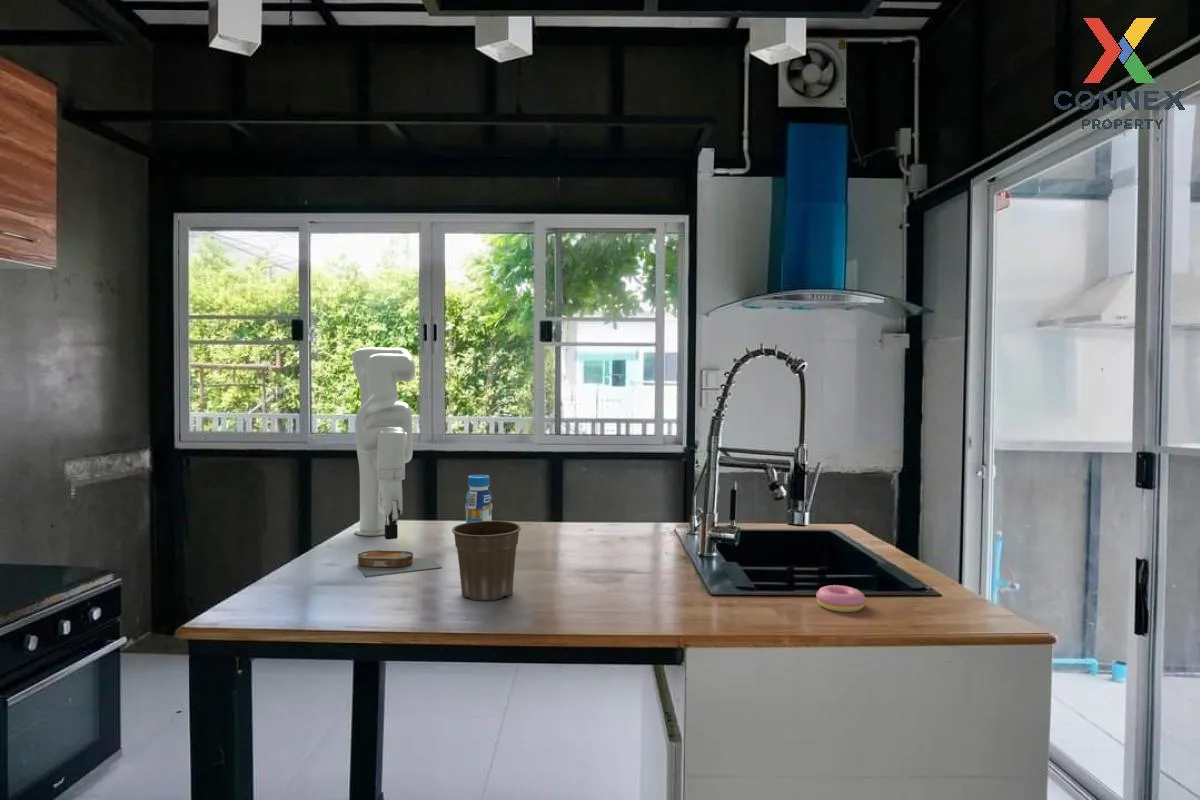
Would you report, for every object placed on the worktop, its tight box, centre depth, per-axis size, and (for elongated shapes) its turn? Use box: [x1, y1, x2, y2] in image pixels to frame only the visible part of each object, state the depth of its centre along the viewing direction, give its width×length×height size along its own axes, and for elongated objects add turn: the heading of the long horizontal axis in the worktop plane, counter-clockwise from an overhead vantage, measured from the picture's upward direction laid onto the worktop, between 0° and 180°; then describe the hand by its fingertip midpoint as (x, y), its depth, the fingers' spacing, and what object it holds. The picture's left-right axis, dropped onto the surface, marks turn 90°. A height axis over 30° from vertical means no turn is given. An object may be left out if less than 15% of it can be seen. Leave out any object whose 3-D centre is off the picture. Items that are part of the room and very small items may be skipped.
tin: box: [357, 549, 414, 568], centre depth 205 cm, size 15×3×8 cm
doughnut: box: [815, 584, 866, 613], centre depth 174 cm, size 11×11×4 cm
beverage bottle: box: [464, 474, 493, 523], centre depth 237 cm, size 8×8×20 cm
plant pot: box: [451, 520, 522, 602], centre depth 180 cm, size 16×16×16 cm
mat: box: [356, 556, 443, 577], centre depth 204 cm, size 12×20×1 cm, turn 118°
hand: (391, 538), depth 212 cm, fingers closed
